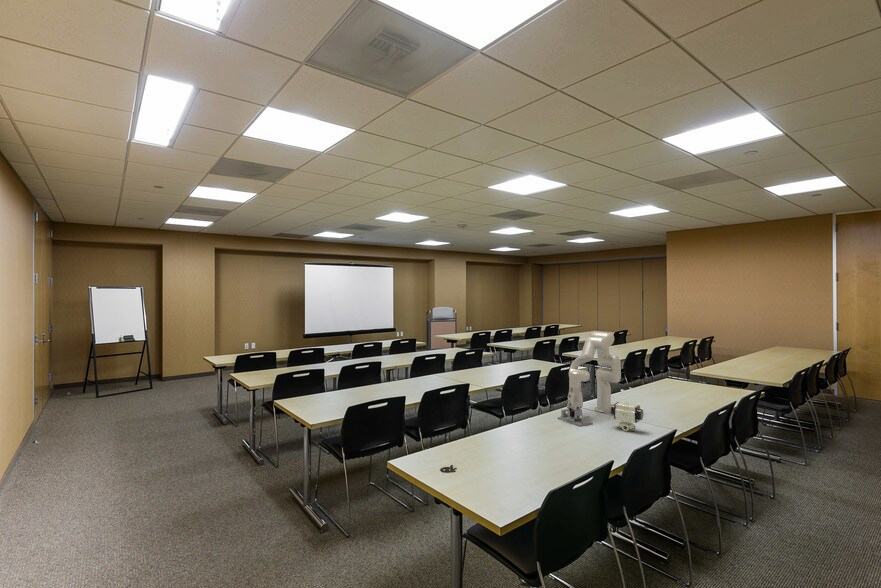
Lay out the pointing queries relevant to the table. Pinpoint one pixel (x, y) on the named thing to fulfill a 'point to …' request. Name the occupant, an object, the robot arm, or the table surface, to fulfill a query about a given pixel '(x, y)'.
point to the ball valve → (627, 414)
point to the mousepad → (448, 469)
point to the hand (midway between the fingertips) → (574, 416)
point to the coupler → (576, 413)
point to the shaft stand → (579, 422)
